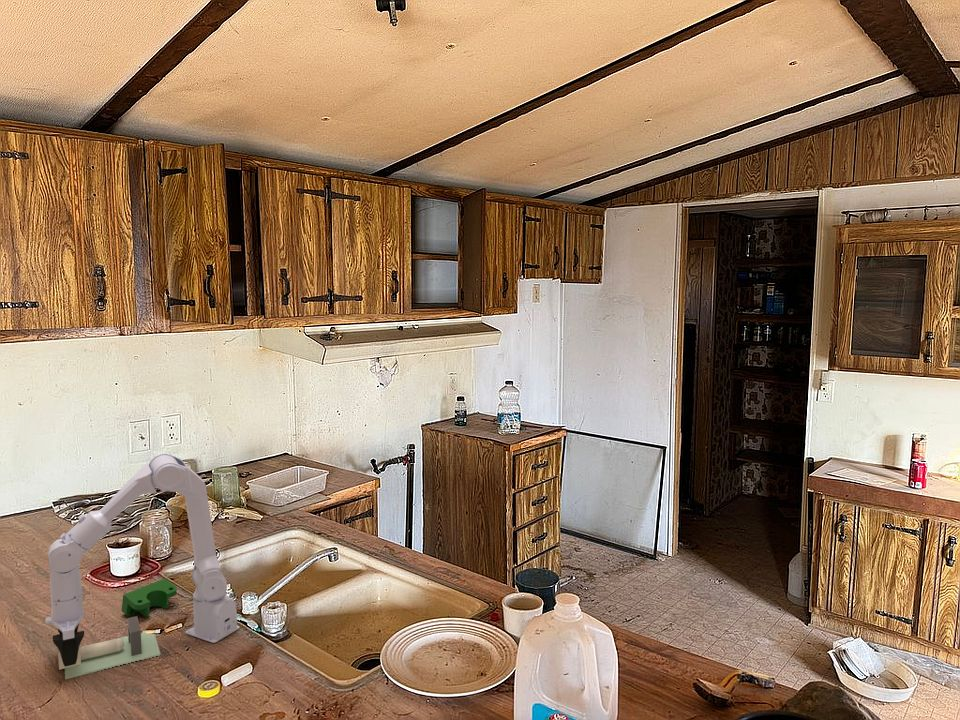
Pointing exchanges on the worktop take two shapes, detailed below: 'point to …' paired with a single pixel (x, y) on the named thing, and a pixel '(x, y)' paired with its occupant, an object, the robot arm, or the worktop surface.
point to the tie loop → (134, 635)
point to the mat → (116, 657)
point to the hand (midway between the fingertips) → (69, 655)
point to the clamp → (148, 597)
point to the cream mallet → (94, 651)
